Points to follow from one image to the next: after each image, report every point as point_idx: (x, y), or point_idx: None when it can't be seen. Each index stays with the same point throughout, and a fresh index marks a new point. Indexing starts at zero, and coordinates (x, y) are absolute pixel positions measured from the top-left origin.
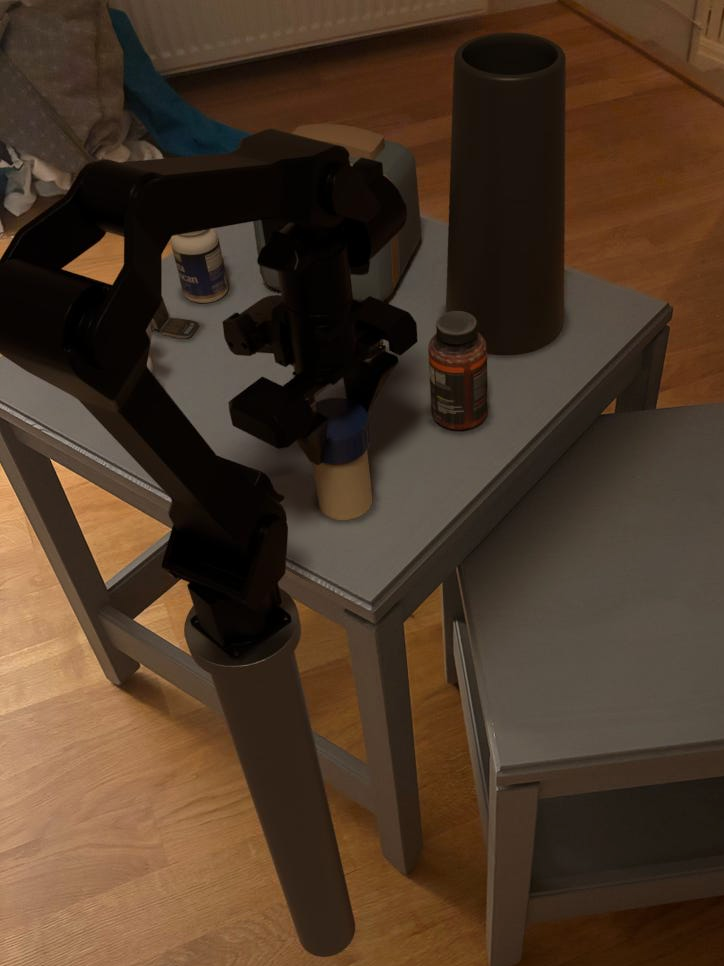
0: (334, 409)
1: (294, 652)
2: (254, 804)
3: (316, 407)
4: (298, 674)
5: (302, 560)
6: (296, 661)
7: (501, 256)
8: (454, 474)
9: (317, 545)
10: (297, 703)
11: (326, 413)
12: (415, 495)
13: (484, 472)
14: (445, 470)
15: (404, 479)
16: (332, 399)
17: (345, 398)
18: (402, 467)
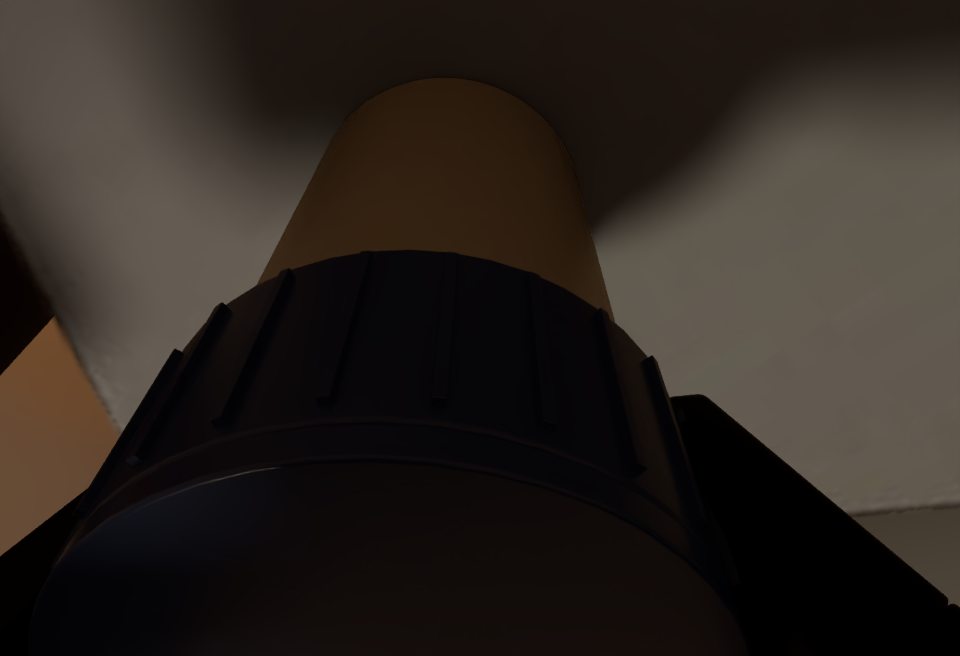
0: (497, 652)
1: (15, 354)
2: None
3: (365, 522)
4: (50, 319)
5: (86, 322)
6: (38, 328)
7: None
8: (878, 408)
9: (183, 307)
10: None
11: (380, 648)
12: (679, 382)
13: (944, 470)
14: (884, 371)
15: (738, 292)
16: (624, 549)
17: (736, 619)
18: (807, 232)
